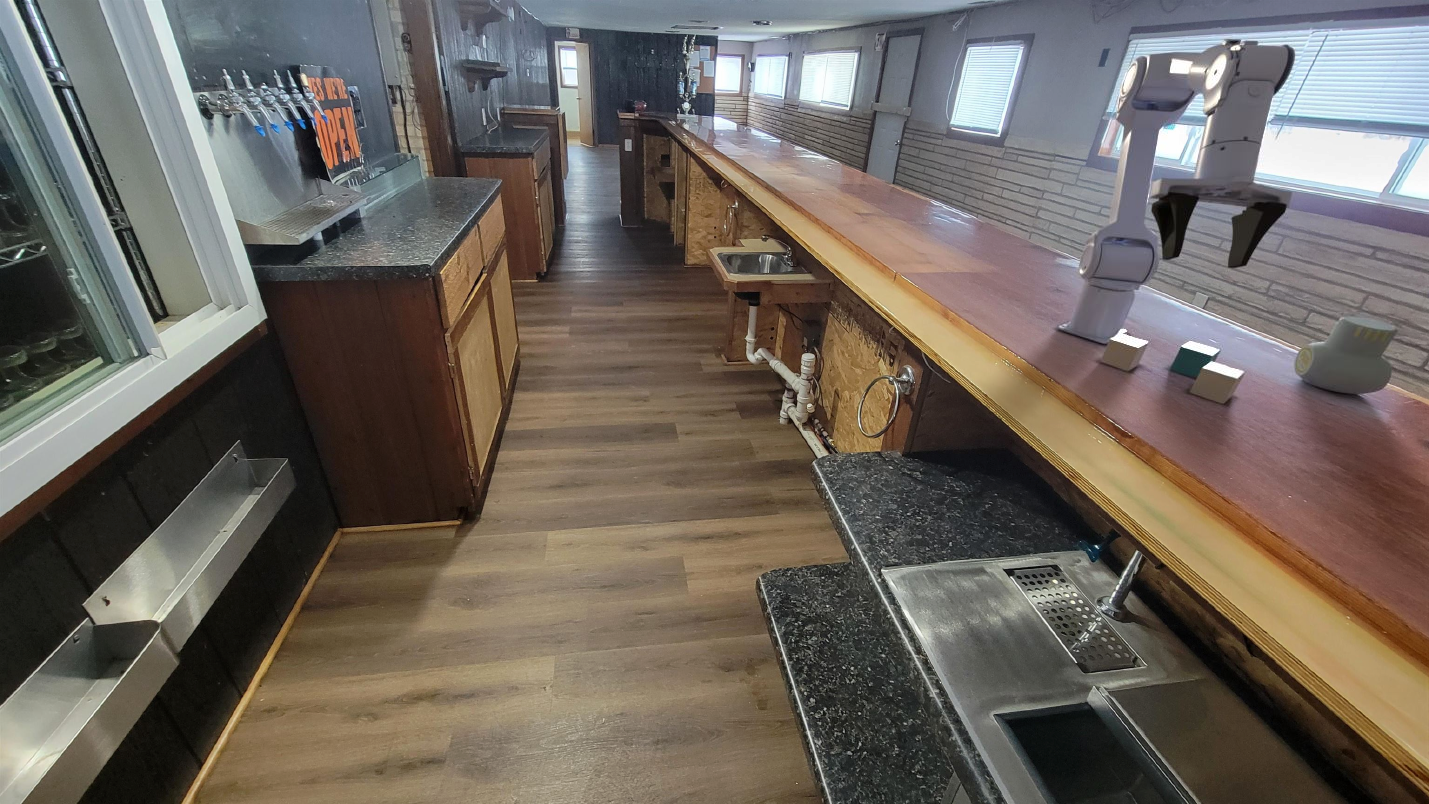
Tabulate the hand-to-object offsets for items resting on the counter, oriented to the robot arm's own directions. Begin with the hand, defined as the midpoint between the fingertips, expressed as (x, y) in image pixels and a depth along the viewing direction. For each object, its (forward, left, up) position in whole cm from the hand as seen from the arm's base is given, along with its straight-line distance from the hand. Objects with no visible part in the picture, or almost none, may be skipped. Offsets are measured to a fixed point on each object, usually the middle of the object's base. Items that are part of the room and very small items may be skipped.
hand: (1203, 262), depth 70 cm
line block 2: (-10, +6, -19) cm, 22 cm away
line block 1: (-10, -6, -19) cm, 22 cm away
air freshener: (-30, +15, -19) cm, 39 cm away
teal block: (-16, +1, -19) cm, 25 cm away
